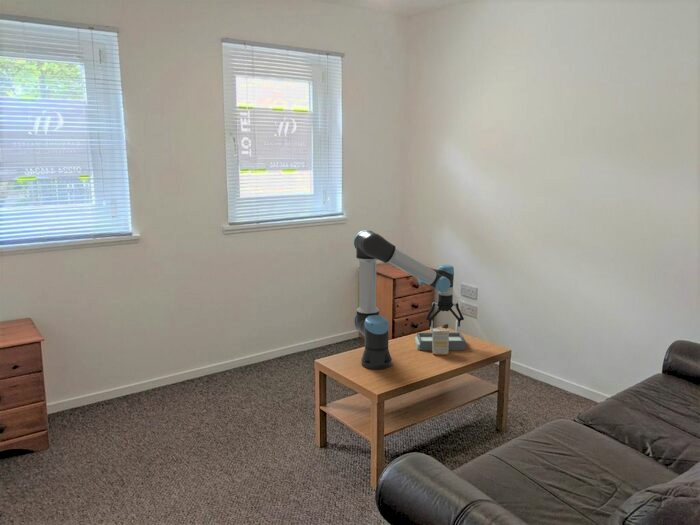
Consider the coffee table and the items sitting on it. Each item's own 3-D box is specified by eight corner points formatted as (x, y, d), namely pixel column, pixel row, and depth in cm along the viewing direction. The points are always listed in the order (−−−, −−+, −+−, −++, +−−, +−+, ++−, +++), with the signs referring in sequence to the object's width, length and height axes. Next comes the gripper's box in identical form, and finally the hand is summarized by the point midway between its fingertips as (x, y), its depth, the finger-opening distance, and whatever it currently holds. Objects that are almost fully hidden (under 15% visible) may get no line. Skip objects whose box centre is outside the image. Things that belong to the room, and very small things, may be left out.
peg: (440, 344, 301) (441, 323, 298) (447, 344, 301) (447, 323, 298) (441, 346, 297) (442, 325, 295) (448, 346, 297) (448, 325, 295)
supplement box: (447, 352, 289) (448, 328, 287) (448, 355, 285) (449, 331, 282) (431, 351, 290) (432, 327, 288) (432, 354, 285) (432, 330, 283)
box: (417, 350, 292) (418, 341, 291) (414, 341, 306) (414, 332, 305) (465, 349, 292) (465, 340, 291) (460, 340, 306) (460, 332, 305)
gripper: (423, 295, 289) (421, 334, 293) (470, 296, 289) (468, 334, 294) (421, 292, 297) (420, 329, 301) (467, 292, 297) (465, 330, 301)
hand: (443, 332), depth 297 cm, fingers open, 13 cm apart
